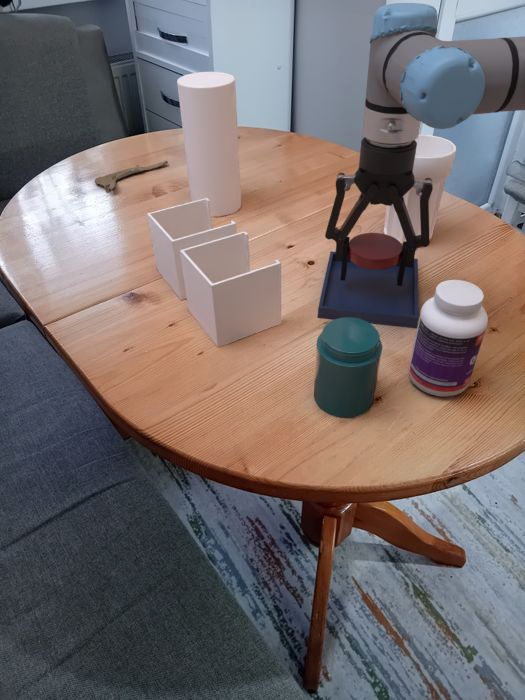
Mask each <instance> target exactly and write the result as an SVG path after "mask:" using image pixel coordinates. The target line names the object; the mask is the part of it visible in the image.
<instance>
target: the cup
mask: <svg viewBox="0 0 525 700" xmlns="http://www.w3.org/2000/svg"><path fill="white" fill-rule="evenodd" d="M415 141H416V142H417V147H416V154H415V160H414V166H413V174H414V177H415V178H418V179H423V180H425V179H426V178H431V179H432V184H433V190H432V193H431V195H430V198H429V240H430V242H431V241H432V238H433V234H434V229H435V226H436V222H437V218H438V213H439V208H440V206H441V201H442V196H443V193H444V188H445V184H446V180H447V179H448V178H449V177H450V175H451V173H452V170H453V169H452V168H453V166H454V161H455V157H456V153H457V146H456V144H454V143H453V142H452V141H451V140H449V139H446V138H444V137H441V136H436V135H432V134H420V133H419V135H418V137H417V138H416V139H415ZM403 197H404V202H405V205H406V208H407V211H408V214H409V217H410V220H411V223H412V226H413V229H414V232H415V235H416V236H418V235H421V222H420V196H418V195H417V194H416V189H415V188H414V187H412V188H411V189H410V190H409V191H408V192H407V193H406V194H405V195H404V196H403ZM384 215H385V216H384V227H383V233H382V234H386V235H389V236H392V237H394V238H396V239H397V240H398V241H400V243H401V244H402V246H403V241H405V242H406V239H405V236H404V233H403V230H402V227H401V224H400V221H399V219H398V216H397V213H396V212H395V209H394V206H393V204H392V206H387V205H385V214H384Z"/></svg>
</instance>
